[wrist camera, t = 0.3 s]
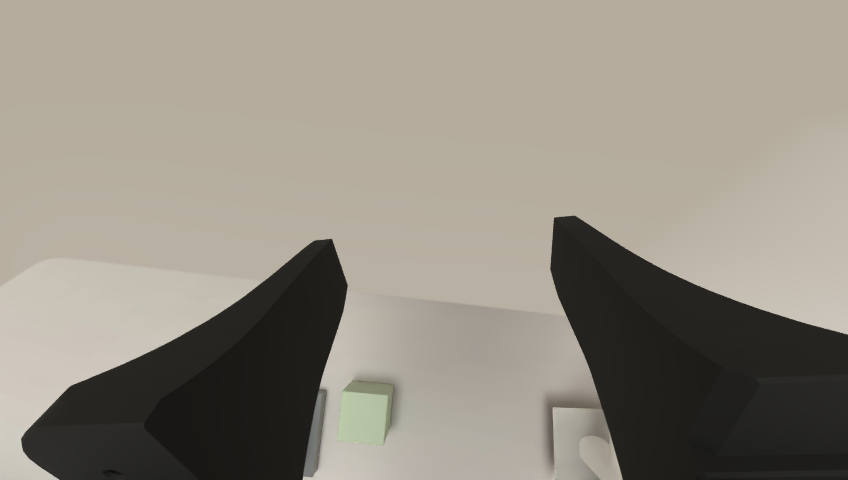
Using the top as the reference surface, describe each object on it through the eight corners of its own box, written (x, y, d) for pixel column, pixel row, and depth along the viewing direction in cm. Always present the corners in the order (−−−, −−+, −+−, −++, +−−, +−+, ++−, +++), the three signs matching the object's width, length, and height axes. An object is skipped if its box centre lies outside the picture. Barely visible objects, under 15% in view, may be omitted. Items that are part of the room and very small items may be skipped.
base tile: (316, 470, 38) (312, 477, 36) (243, 462, 38) (235, 468, 36) (326, 390, 39) (322, 394, 37) (255, 383, 39) (248, 387, 38)
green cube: (389, 428, 38) (383, 445, 34) (348, 424, 38) (336, 440, 34) (393, 384, 39) (387, 395, 34) (352, 380, 39) (342, 391, 35)
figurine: (544, 482, 37) (616, 607, 22) (541, 386, 38) (607, 441, 23) (615, 485, 36) (738, 614, 22) (610, 388, 38) (720, 445, 23)
